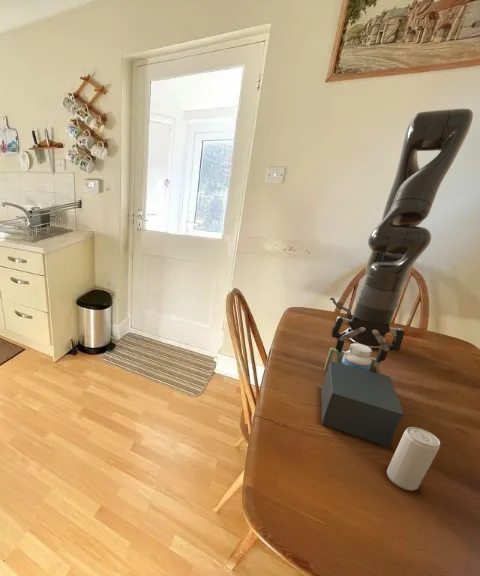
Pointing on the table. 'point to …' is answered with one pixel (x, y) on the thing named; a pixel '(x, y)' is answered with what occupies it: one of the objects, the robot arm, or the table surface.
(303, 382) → the table surface
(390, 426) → the cabinet
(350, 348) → the pill bottle
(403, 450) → the beverage can
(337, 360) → the drawer
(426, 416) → the table surface
